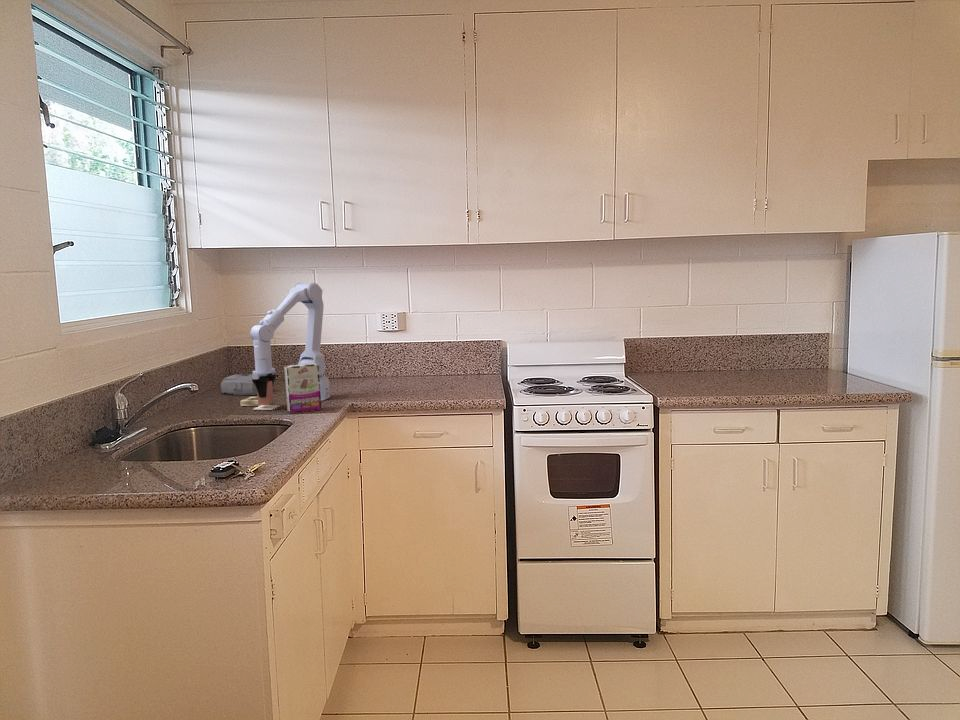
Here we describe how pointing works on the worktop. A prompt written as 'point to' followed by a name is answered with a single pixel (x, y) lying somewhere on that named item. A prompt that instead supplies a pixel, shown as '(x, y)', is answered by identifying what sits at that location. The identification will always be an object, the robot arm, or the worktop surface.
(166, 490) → the worktop surface
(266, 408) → the mat
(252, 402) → the pocket holder
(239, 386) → the grey rounded bag
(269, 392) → the peg
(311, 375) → the candy bar box
